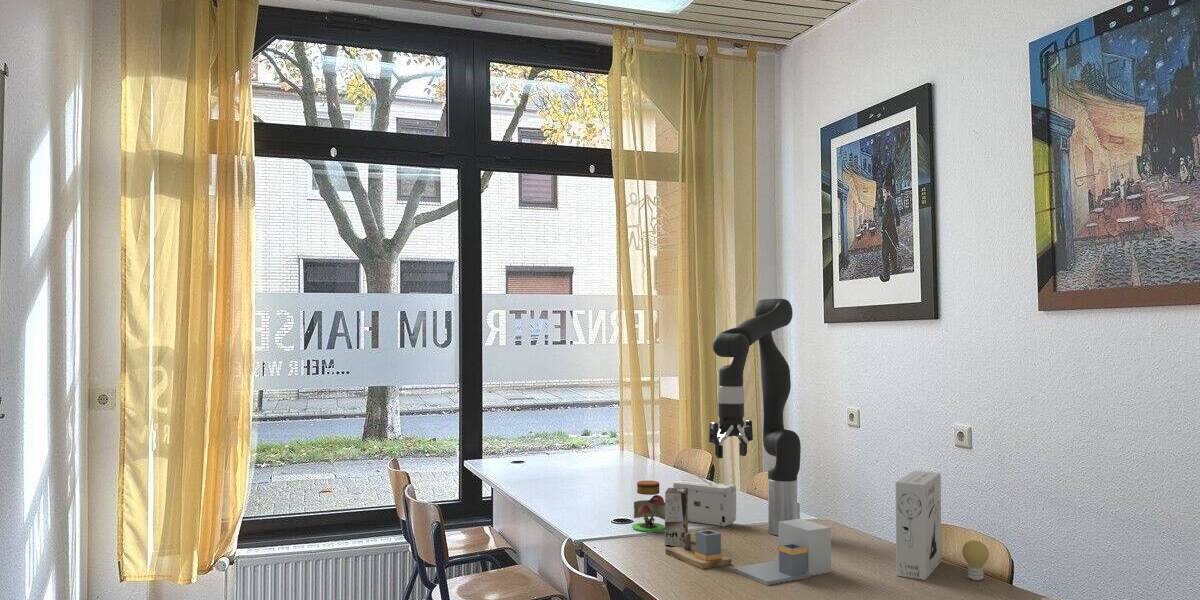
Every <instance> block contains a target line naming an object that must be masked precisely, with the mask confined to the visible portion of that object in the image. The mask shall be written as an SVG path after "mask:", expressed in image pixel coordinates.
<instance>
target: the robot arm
mask: <svg viewBox="0 0 1200 600" xmlns="http://www.w3.org/2000/svg"><path fill="white" fill-rule="evenodd" d="M793 313H794V312H793V307H792V304H791V302H790V301H789V300H788V299H785V298H766V299H760V300H758V301H757V302H756V304H755V307H754V317H751V318H748V319H746V320H744V321H743V322H742V323H739V324H738V325H737V326H736V327H733V328H730V329H726V330H724V331H721V332H719V333H718V334H717V335H716V336H715V337H714V339H713V342H712V350H713V352H714V353H715V354H716V355H717V356H719V357H721V358H733V359H732V361H731V363H730V364H726V365H722V366H720V368H719V370H718V371H719V372H718V393H717V394H718V395H717V396H718V397H717V399H718V401H717V402H718V405H717V409H718V410H717V412H718V413H717V416H718V419H719V420H718V422H714V421H711V422H709V431H708V432H709V433H708V434H709V435H708V437H709V438H708V441H709V443H711V444H714V449H715V450H714V451H715V453H714V454H715V457H716V459H723V457H724V451H723V450H724V445H723V443H724V442H725V440H727V439H728V438H729V437H737V438H736V439H738V441H739V456H741V457H746V456H747V454H748V443H749V442H750V441H753V439H754V434H753V433H754V432H753V430H754V429H753V421H752V420H748V419H744V417H745V390H744V370H745V365H746V362H747V358H748V355H749V352H750V346H752V345H753V344H755V343H756V342H757V341H758V346H759V356H760V357H759V359H760V376H761V377H760V378H761V379H760V381H761V391H762V403H763V404H762V407H763V423H762V426H763V427H762V431H763V432H762V442H763V443H762V444H763V447H764V450H765V452H766V453H767V454H768V455H770V456H772V457H775V458H776V459H775V465H774V467H771V468H770V469H768V471H767V527H768V528H767V532H768V534H770V535H773V536H778V522H780V521H787V520H794V519H801V510H800V509H801V508H800V507H801V504H800V503H799V502H798V474H799V472H800V467H801V449H802V447H801V439H800V437H799V435H798V434H797V432H795V431H793V430H791V429H785V426H784V410H785V406H786V403H787V400H788V398H789V395H790V393H791V388H792V383H791V382H792V381H791V370H790V369H791V368H790V365H789V363H788V361H787V360H786V358H785V357H784V356H783V354H782V353H781V351H780V350H779V348H778V346H777V345H776V343H775V340H774V337H773V332H775V331H777V330H778V329H781V328H783V327H786V326H788V325H789V324H790V323H791V321H792V319H793Z"/></svg>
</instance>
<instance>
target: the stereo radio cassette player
mask: <svg viewBox="0 0 1200 600" xmlns="http://www.w3.org/2000/svg"><path fill="white" fill-rule="evenodd" d="M676 464H679V465H680V466H682V468H684V469H686V470H687V471H688V472H690V473H692V474H693V475H695V476H696V477H697V478H699V479H700V480H693V479H683V478H682V479H678V480H675V481H673V482H672V488H688V522H691V523H700V524H706V525H712V526H713V525H714V526H720V527H724V528H725V527H727V526H729V525H732V524H733V523H734V522H736V520H737V487H736V485H735V484H729V483H719V482H712V481H711V482H710V481H707V480H706V479H704V478H703V477H702V476H700V475H698V474H697V473H695V472H694V471H692V470H691V469H689V468H687V467H686V466H685V465H683V464H681V463H680V462H679V461H676Z"/></svg>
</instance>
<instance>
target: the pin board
mask: <svg viewBox="0 0 1200 600" xmlns="http://www.w3.org/2000/svg"><path fill="white" fill-rule="evenodd" d="M691 536H692V535H691V533H689V532H688V533H685V534H684V546H671V547H666V548H665V554H666V553H667V554H669V555H668V556H670V555H672V556H674V557H673V558H675V557H676V558H675V559H677V558H678V560H679V559H680V561H682V560H683V561H682V562H684V561H685V562H684V563H686V562H687V563H686V564H689V563H690V564H689V565H691V564H692V566H694V567H696V568H698V567H699V568H698V569H701V570H705V569H711V568H716V567H717V568H718V567H723V566H729V565H732V558H730V557H728V556H725V555H723V554H722V558H721V559H716V560H709V561H705V560H703V559H700V558H698V557H695V552H696V544H694V543H693V544H691V539H692V538H691ZM667 554H666V555H667ZM672 556H671V557H672ZM704 568H705V569H704Z"/></svg>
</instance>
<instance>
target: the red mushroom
mask: <svg viewBox="0 0 1200 600" xmlns="http://www.w3.org/2000/svg"><path fill="white" fill-rule="evenodd" d="M636 484H637V485H636V490H637V491H636V493H637V494H639V495H643V496H644V495H646V496H652V495H653V496H652V497H651V498H650V499H644V500H643V499H642V500H637V501H634V502H633V519H638V518H639V519H640V518H642V519H643V520H644V522H639V523H634V524H632V526H631V529H632V528H633V529H632V530H634V531H637V530H638V531H637V532H643V531H647V532H649V533H653V532H655V531H656V532H661V531H663V530H665V524H664V525H663V524H660V523H657V522H655V520H656V519H655V518H658V519H661V520H664V521H665V498H663V497H662V496H661V495H659V494H660V482H659V481H656V480H639V481H637V483H636ZM654 517H655V518H654ZM660 530H661V531H660ZM647 532H646V533H647Z"/></svg>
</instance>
